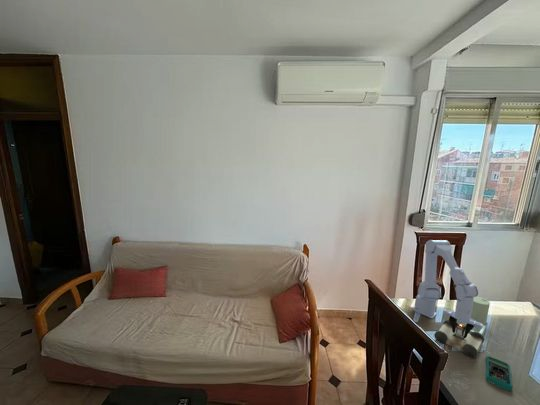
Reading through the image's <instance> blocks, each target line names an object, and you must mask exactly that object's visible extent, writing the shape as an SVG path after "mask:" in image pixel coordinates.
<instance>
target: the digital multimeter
mask: <svg viewBox="0 0 540 405" xmlns="http://www.w3.org/2000/svg"><path fill="white" fill-rule="evenodd" d="M485 365H486V370H485V371H486V372H485V373H486V374H485V381H486V382H488V381H490V382H492V383H494V384H495V385H494V384H493V385H494V386H496V385H497V386H496V387H498V386H499V387H498V388H500V387H501V388H500V389H502V388H503V390H505V389H506V390H505V391H508V390H509V392H513V382H512V377H511V365H510V364H509V363H507V362H504V361H502V360H500V359H497V358H495V357H493V356H492V357H491V356H489V355H487V356H485ZM490 382H489V383H490ZM492 383H491V384H492Z"/></svg>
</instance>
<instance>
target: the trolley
mask: <svg viewBox="0 0 540 405" xmlns="http://www.w3.org/2000/svg"><path fill="white" fill-rule="evenodd" d="M455 334H456V331H455V333H453V332H452V326H451V323H450V321H449V319H445V320H444V322H443V324H442V325H441V327H440V328H439V329H438V330H437V331H436V332H434V335H433V336H434V338H435V340H436V341H437V342H439V343H440V344H447V345H448V346H450V347H453V348H454V349H457V350H459V351H461V352H463V353H464V354H465V355H466V356H468V357H469V358H471V357H472V359H474V358H475V359H476V358H477V356H478V353H479V351H480V349H481V347H482V346H483V343H484V341H485V337H484V335H482V334H481V333H479V332H476V331H474V332H472V333H471V334H468V335H467V337H466V338H464V336H463V340H461V339H459V338H457V337H455ZM464 334H465V332H464Z"/></svg>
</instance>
